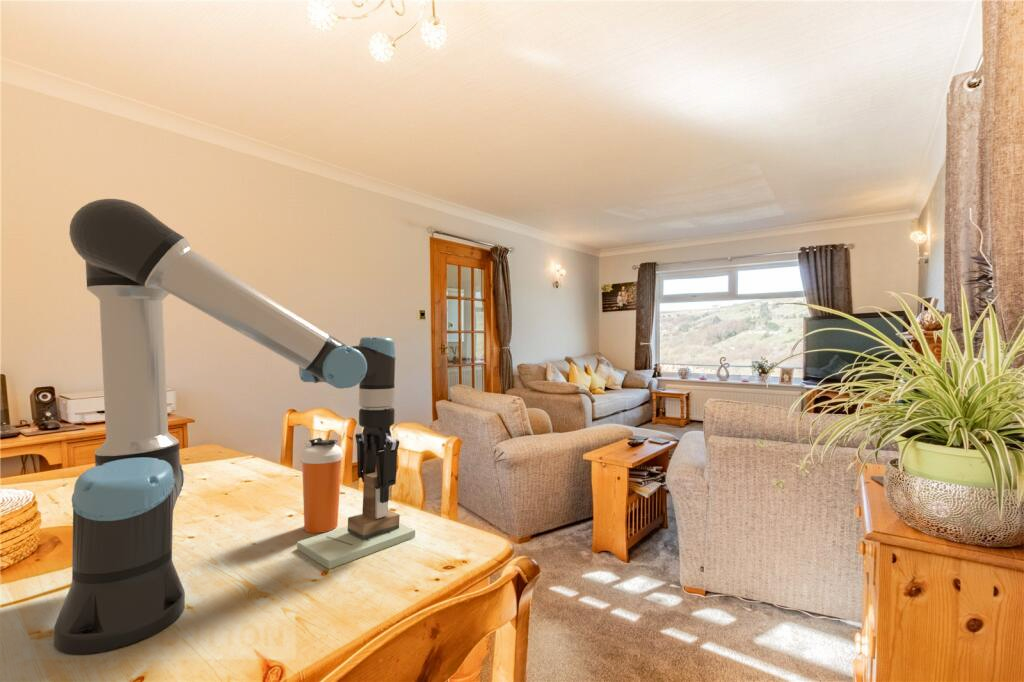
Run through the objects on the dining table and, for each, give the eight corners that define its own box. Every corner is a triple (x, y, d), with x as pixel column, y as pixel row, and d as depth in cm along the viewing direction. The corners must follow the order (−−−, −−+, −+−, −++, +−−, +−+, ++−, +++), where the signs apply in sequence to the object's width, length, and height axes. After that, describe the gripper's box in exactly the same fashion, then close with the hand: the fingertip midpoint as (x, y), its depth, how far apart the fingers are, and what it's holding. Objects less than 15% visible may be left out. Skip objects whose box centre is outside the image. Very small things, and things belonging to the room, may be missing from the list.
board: (329, 569, 89) (329, 560, 89) (297, 549, 97) (297, 541, 97) (415, 536, 104) (415, 529, 104) (380, 522, 112) (381, 515, 112)
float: (362, 539, 98) (365, 480, 98) (347, 531, 102) (349, 475, 102) (398, 528, 105) (401, 473, 105) (383, 521, 109) (385, 468, 109)
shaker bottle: (327, 536, 104) (328, 445, 104) (291, 532, 105) (292, 443, 105) (349, 521, 112) (350, 437, 112) (315, 518, 114) (316, 435, 114)
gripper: (414, 409, 101) (413, 518, 101) (370, 402, 112) (369, 501, 112) (384, 413, 96) (383, 529, 95) (341, 405, 106) (340, 509, 106)
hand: (375, 513), depth 104 cm, fingers closed on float, 4 cm apart
